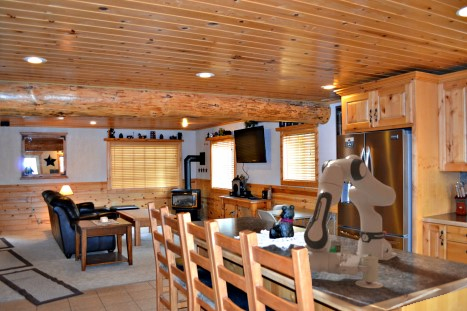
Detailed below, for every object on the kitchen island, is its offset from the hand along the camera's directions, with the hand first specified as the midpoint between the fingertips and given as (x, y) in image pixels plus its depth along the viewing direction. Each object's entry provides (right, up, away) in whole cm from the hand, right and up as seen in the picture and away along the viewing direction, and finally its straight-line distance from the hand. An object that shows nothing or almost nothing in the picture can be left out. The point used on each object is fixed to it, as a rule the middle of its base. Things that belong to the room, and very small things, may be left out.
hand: (371, 266), depth 170 cm
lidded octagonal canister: (0, -6, 0) cm, 6 cm away
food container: (-6, -9, +47) cm, 48 cm away
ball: (-1, -7, 0) cm, 7 cm away
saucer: (-1, -8, 0) cm, 8 cm away
